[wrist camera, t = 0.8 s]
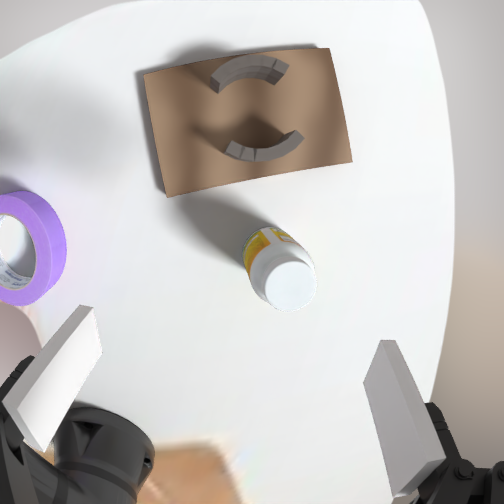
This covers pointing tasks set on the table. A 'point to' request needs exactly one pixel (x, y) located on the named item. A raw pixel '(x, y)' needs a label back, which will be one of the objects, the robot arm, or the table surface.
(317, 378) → the table surface
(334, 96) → the collar board
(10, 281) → the masking tape
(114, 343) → the table surface
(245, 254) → the supplement bottle
